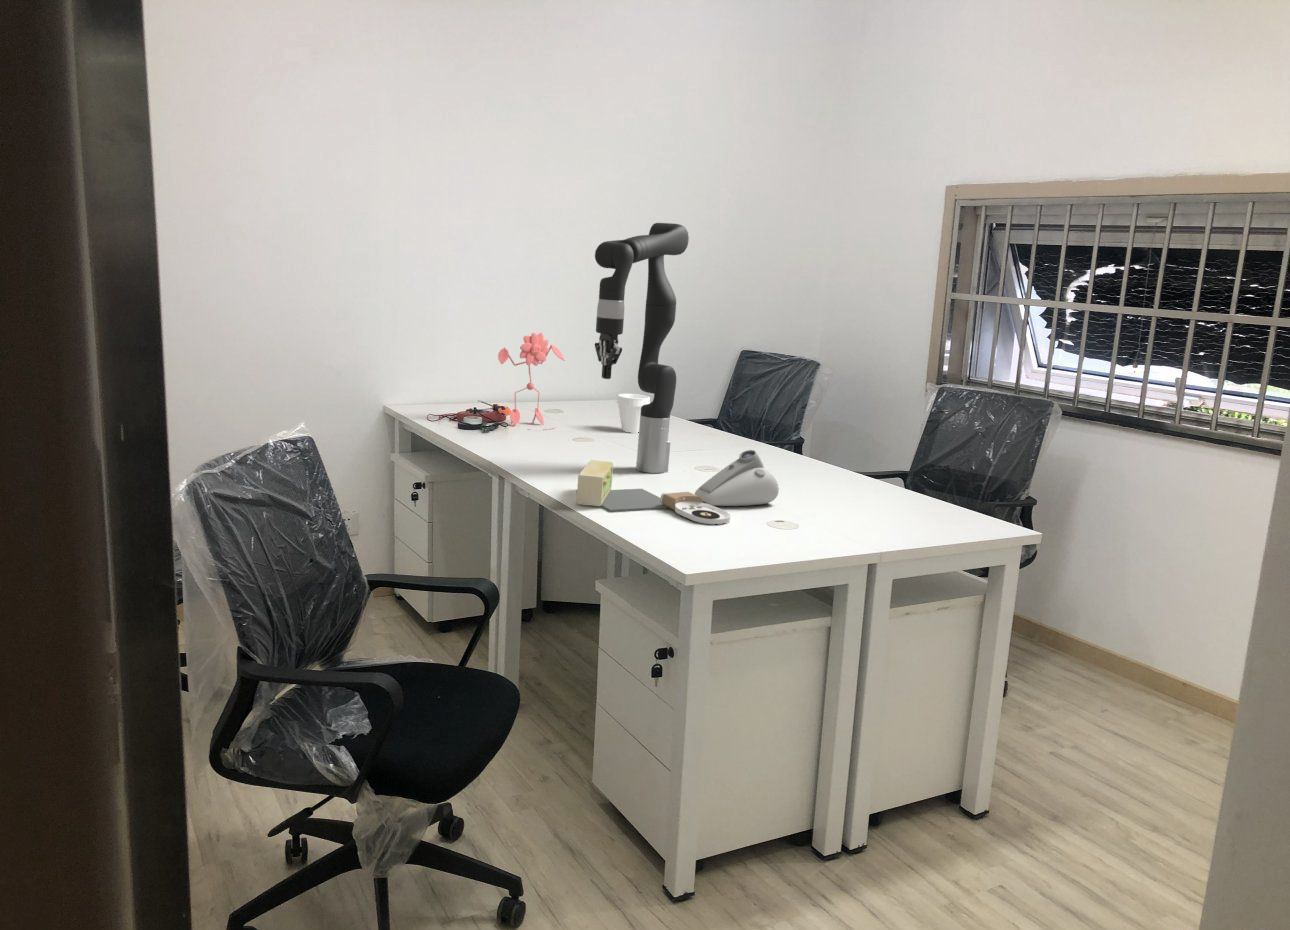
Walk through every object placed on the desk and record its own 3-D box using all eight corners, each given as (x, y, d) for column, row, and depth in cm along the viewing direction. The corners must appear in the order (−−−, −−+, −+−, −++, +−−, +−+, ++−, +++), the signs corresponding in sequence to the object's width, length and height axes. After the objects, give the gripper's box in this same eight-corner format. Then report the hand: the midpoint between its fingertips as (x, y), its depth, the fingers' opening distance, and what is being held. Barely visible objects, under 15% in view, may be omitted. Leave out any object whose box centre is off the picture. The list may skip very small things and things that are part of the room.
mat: (641, 490, 284) (641, 488, 284) (676, 508, 267) (677, 506, 267) (577, 493, 274) (577, 491, 274) (610, 512, 257) (610, 509, 257)
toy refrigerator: (614, 490, 280) (603, 506, 260) (588, 487, 281) (575, 503, 260) (616, 462, 279) (605, 476, 258) (590, 459, 279) (577, 474, 259)
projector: (699, 488, 293) (704, 440, 290) (777, 497, 290) (783, 448, 287) (692, 506, 271) (697, 453, 268) (776, 515, 269) (782, 462, 266)
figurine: (489, 423, 370) (495, 329, 363) (550, 422, 385) (557, 331, 377) (508, 432, 358) (515, 334, 351) (570, 430, 373) (578, 336, 365)
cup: (647, 435, 372) (650, 399, 370) (614, 433, 372) (617, 397, 370) (647, 430, 384) (650, 395, 382) (615, 427, 384) (618, 392, 382)
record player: (691, 490, 272) (740, 511, 257) (689, 501, 273) (738, 523, 258) (657, 493, 265) (705, 515, 250) (656, 504, 266) (704, 527, 251)
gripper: (633, 319, 272) (628, 382, 275) (611, 314, 283) (607, 375, 287) (608, 318, 268) (604, 382, 272) (587, 313, 280) (583, 375, 283)
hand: (606, 378), depth 279 cm, fingers closed
